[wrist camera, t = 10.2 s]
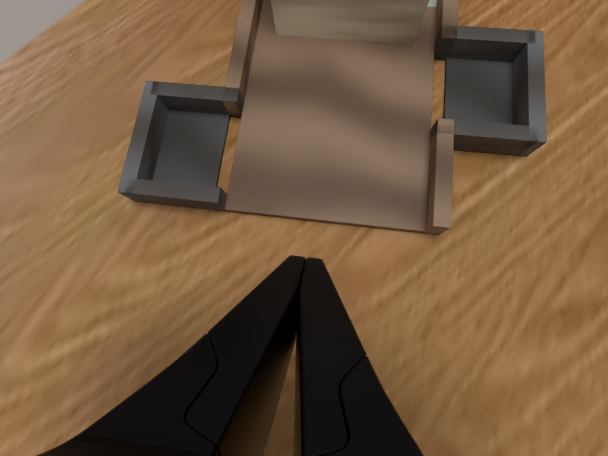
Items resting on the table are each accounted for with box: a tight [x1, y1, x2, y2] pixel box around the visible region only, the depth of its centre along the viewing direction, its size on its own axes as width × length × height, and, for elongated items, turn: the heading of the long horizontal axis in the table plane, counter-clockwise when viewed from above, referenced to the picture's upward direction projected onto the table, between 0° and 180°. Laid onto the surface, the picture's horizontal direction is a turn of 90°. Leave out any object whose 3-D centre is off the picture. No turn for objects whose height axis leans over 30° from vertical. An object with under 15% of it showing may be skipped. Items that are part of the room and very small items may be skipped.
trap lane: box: [118, 0, 547, 235], centre depth 22 cm, size 28×26×6 cm
